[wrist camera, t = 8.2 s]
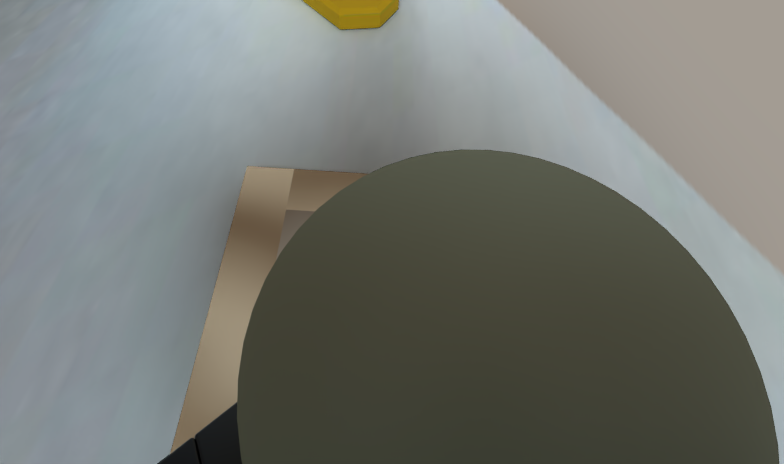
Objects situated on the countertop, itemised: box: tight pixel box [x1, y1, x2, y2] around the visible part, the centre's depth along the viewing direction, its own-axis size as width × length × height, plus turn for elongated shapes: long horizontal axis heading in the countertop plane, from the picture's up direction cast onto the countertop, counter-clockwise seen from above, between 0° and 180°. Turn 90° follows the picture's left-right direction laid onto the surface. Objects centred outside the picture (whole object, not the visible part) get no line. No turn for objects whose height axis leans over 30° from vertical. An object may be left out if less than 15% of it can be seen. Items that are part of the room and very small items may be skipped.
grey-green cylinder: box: [237, 150, 779, 464], centre depth 8 cm, size 8×6×11 cm
